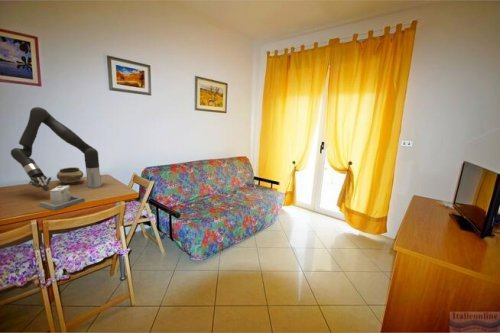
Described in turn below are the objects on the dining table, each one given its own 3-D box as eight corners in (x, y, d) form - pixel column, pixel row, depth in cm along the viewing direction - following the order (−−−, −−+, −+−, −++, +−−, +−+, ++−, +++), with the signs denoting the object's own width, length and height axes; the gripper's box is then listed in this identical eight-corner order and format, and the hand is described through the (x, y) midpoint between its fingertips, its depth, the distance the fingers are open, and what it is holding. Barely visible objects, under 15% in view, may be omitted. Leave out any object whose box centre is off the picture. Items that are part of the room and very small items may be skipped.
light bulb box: (60, 199, 155) (59, 185, 152) (71, 199, 156) (70, 185, 154) (51, 205, 144) (49, 190, 142) (62, 205, 146) (60, 190, 144)
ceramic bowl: (54, 185, 189) (46, 170, 183) (75, 176, 204) (69, 162, 197) (72, 190, 181) (65, 174, 174) (92, 180, 196) (86, 165, 189)
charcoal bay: (69, 197, 159) (69, 194, 159) (84, 201, 154) (84, 198, 154) (39, 205, 143) (39, 202, 142) (55, 210, 138) (54, 206, 137)
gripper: (23, 170, 146) (37, 190, 144) (46, 166, 158) (59, 184, 157) (19, 176, 148) (33, 196, 147) (43, 172, 161) (56, 190, 159)
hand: (47, 190), depth 152 cm, fingers closed
